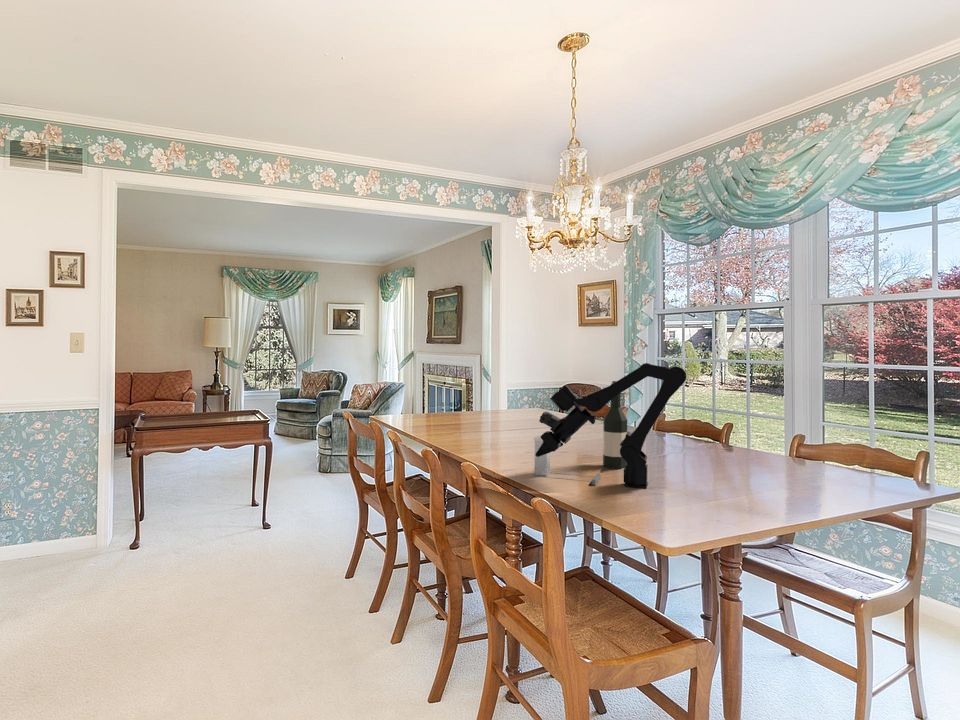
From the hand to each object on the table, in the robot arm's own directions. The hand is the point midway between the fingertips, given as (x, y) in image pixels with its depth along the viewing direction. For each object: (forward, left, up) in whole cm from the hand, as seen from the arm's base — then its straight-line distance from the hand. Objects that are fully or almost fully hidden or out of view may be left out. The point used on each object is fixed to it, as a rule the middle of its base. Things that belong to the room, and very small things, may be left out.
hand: (538, 454), depth 180 cm
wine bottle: (-21, -25, -7) cm, 33 cm away
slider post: (-1, 0, -6) cm, 6 cm away
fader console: (-8, 0, -7) cm, 11 cm away
